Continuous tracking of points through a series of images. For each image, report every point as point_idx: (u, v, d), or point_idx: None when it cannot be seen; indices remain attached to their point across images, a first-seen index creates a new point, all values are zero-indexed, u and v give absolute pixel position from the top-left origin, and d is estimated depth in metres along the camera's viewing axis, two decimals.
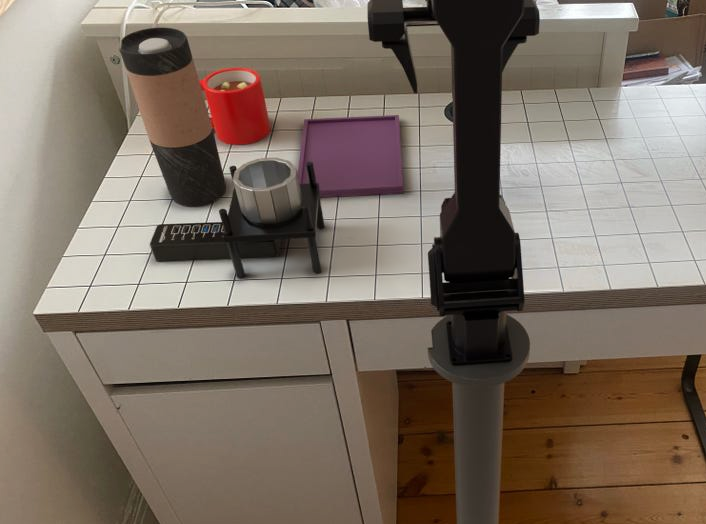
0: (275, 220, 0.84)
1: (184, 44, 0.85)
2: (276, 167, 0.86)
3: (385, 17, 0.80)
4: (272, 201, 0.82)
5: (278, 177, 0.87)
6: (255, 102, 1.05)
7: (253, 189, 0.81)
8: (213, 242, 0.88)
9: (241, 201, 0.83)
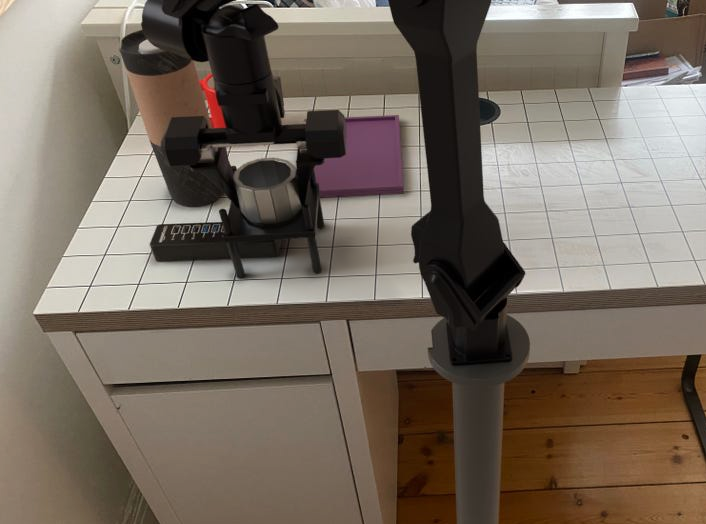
0: (275, 220, 0.84)
1: None
2: (276, 167, 0.86)
3: (178, 142, 0.77)
4: (272, 201, 0.82)
5: (278, 177, 0.87)
6: None
7: (253, 189, 0.81)
8: (213, 242, 0.88)
9: (241, 201, 0.83)
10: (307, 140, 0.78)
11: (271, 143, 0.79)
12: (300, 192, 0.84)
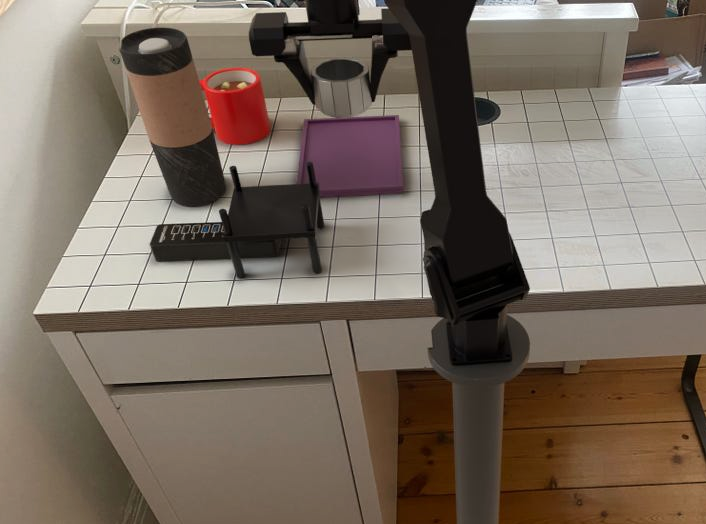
0: (349, 113, 0.90)
1: (184, 44, 0.85)
2: (347, 67, 0.92)
3: (265, 33, 0.83)
4: (347, 94, 0.88)
5: (349, 76, 0.93)
6: (255, 102, 1.05)
7: (331, 81, 0.87)
8: (213, 242, 0.88)
9: (317, 95, 0.89)
10: (384, 32, 0.84)
11: (349, 36, 0.85)
12: (372, 87, 0.90)
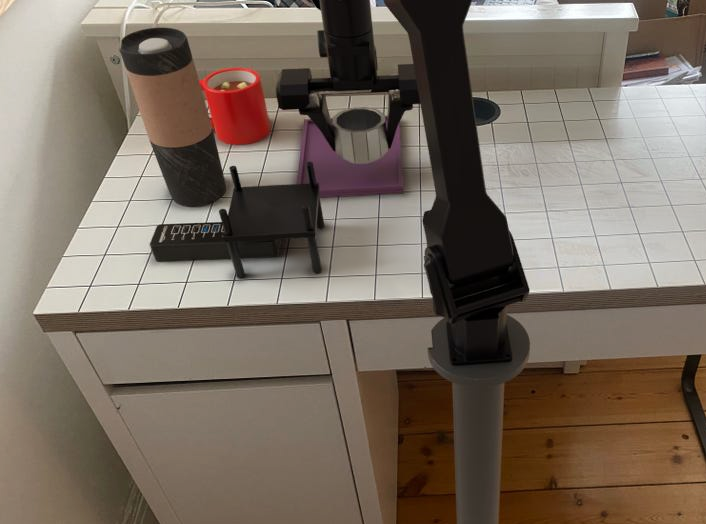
0: (367, 160, 0.97)
1: (184, 44, 0.85)
2: (365, 115, 0.99)
3: (291, 89, 0.90)
4: (366, 142, 0.95)
5: (367, 124, 1.00)
6: (255, 102, 1.05)
7: (351, 131, 0.94)
8: (213, 242, 0.88)
9: (338, 143, 0.96)
10: (400, 88, 0.91)
11: (368, 91, 0.92)
12: (389, 136, 0.97)
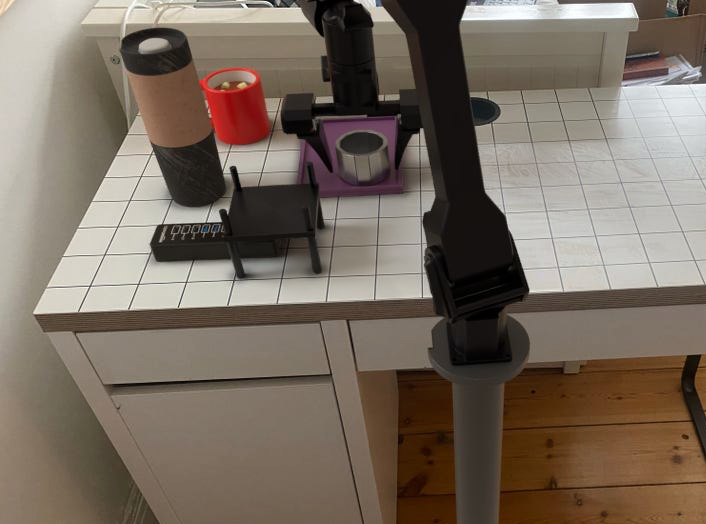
0: (369, 182, 0.99)
1: (184, 44, 0.85)
2: (368, 138, 1.01)
3: (295, 114, 0.92)
4: (369, 165, 0.97)
5: (369, 146, 1.02)
6: (255, 102, 1.05)
7: (354, 155, 0.96)
8: (213, 242, 0.88)
9: (341, 166, 0.99)
10: (402, 113, 0.93)
11: (364, 116, 0.94)
12: (396, 158, 0.99)
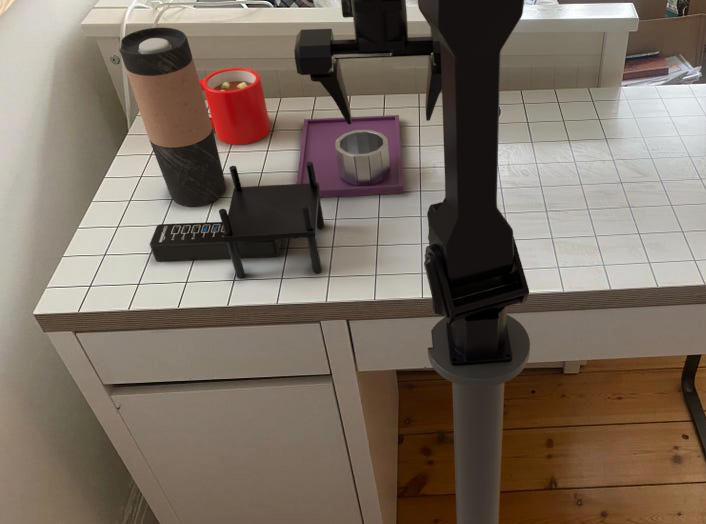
0: (369, 182, 0.99)
1: (184, 44, 0.85)
2: (368, 138, 1.01)
3: (312, 51, 0.79)
4: (369, 165, 0.97)
5: (369, 146, 1.02)
6: (255, 102, 1.05)
7: (354, 155, 0.96)
8: (213, 242, 0.88)
9: (341, 166, 0.99)
10: (435, 50, 0.81)
11: (389, 54, 0.81)
12: (428, 106, 0.87)
